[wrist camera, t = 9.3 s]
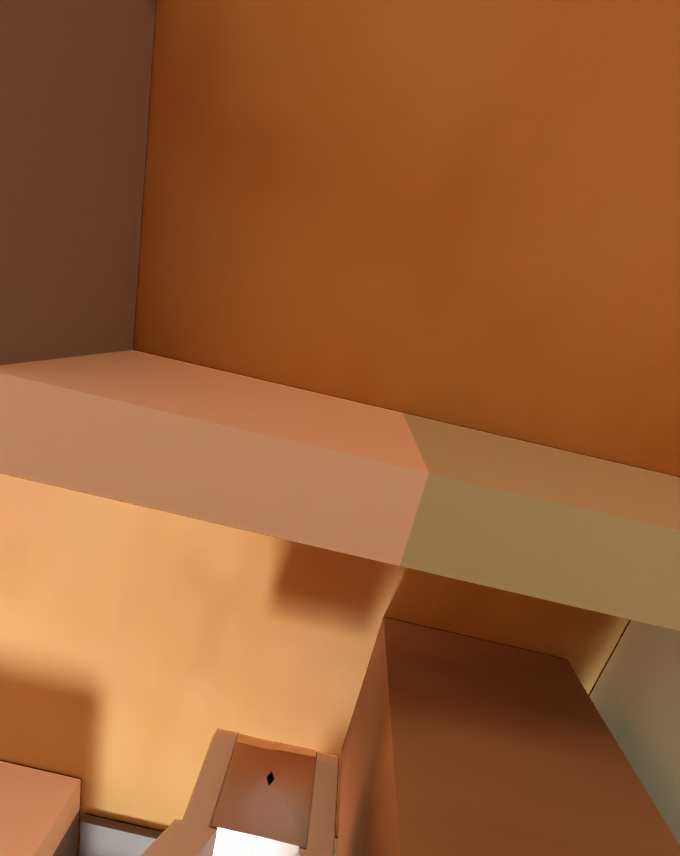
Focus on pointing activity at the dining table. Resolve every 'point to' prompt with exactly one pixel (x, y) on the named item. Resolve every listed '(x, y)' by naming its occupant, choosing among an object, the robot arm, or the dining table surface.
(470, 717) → the block
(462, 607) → the dining table surface
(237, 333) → the dining table surface
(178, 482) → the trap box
